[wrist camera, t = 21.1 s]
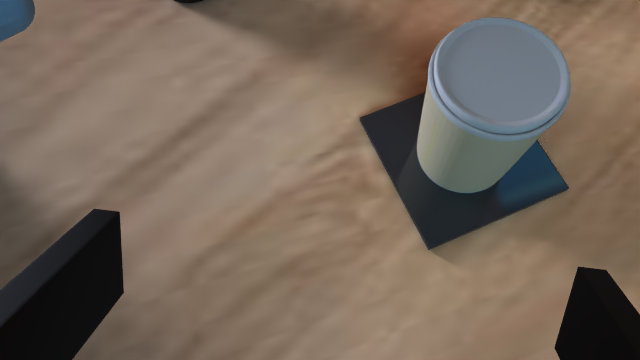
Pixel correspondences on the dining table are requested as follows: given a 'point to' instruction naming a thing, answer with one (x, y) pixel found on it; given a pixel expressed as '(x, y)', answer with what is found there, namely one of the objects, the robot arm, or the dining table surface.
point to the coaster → (444, 205)
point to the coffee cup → (488, 101)
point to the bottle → (188, 1)
